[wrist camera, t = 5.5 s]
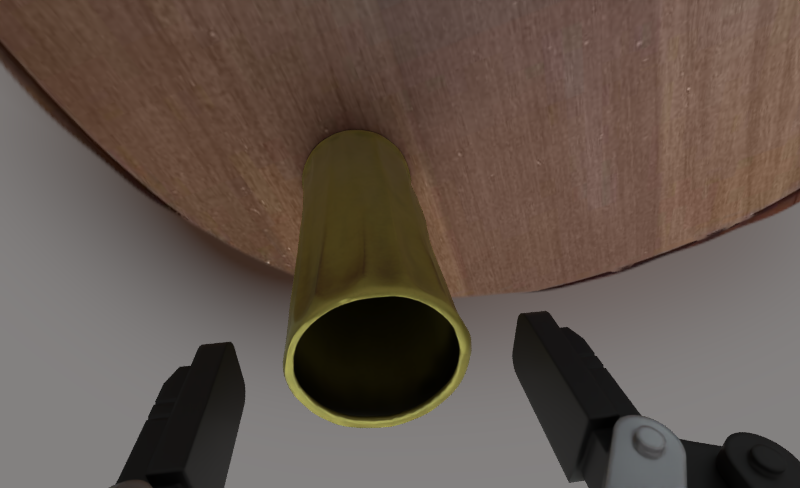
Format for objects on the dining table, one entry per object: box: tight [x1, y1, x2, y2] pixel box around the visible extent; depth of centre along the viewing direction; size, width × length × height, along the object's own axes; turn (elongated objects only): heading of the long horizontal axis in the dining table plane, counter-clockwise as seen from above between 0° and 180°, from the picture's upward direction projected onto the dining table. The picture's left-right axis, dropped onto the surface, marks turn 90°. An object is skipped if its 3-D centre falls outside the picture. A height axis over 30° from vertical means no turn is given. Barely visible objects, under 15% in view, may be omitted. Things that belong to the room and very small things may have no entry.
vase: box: [283, 130, 471, 428], centre depth 17 cm, size 6×6×14 cm
